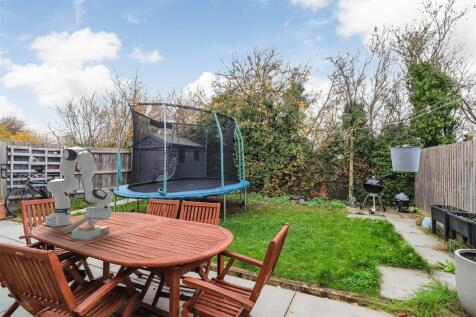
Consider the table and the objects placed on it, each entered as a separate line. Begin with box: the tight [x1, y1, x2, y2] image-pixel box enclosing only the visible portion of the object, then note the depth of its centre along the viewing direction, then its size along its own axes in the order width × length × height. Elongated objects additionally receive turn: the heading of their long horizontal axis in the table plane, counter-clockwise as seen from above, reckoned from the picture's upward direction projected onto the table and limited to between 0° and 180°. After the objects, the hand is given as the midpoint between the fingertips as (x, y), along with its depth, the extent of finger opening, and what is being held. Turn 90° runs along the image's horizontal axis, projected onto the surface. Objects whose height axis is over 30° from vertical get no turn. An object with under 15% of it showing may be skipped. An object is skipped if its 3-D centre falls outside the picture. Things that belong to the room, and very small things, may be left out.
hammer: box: [61, 206, 95, 235], centre depth 234 cm, size 16×5×30 cm
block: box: [77, 224, 96, 231], centre depth 213 cm, size 7×7×9 cm
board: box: [95, 225, 110, 236], centre depth 225 cm, size 14×12×4 cm
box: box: [71, 228, 101, 241], centre depth 213 cm, size 14×12×6 cm
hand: (92, 223), depth 221 cm, fingers closed
